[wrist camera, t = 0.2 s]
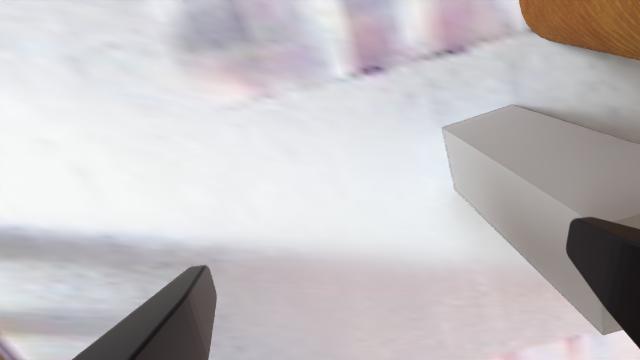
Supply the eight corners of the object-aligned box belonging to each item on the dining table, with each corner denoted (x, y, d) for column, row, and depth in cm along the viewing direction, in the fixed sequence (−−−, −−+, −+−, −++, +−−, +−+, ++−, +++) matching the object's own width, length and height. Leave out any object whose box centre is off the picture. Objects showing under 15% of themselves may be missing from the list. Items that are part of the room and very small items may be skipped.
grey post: (520, 168, 24) (737, 298, 12) (454, 189, 25) (603, 335, 12) (511, 104, 23) (753, 180, 11) (441, 127, 23) (597, 226, 11)
